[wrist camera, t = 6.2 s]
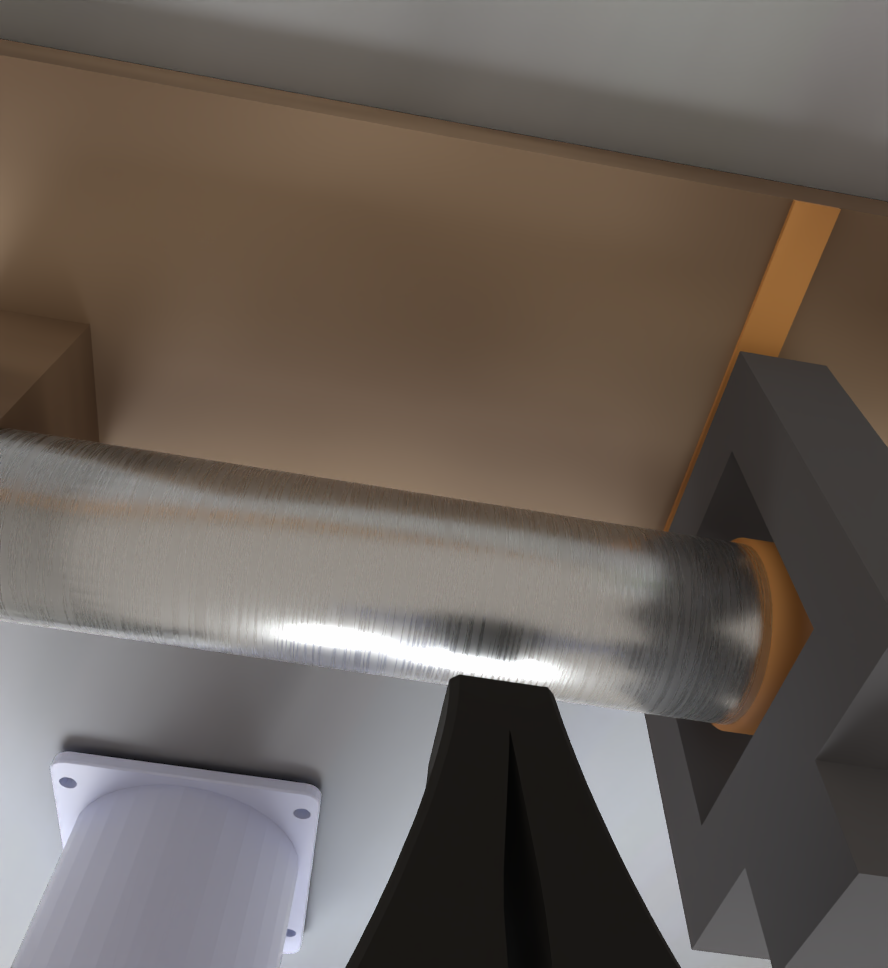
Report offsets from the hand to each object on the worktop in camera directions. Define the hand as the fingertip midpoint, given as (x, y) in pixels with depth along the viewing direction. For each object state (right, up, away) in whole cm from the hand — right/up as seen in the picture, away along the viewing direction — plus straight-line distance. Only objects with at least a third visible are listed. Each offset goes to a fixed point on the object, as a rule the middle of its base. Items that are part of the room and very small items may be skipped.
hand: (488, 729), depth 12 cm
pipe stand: (+1, +5, +7) cm, 8 cm away
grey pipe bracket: (+5, +3, +5) cm, 8 cm away
